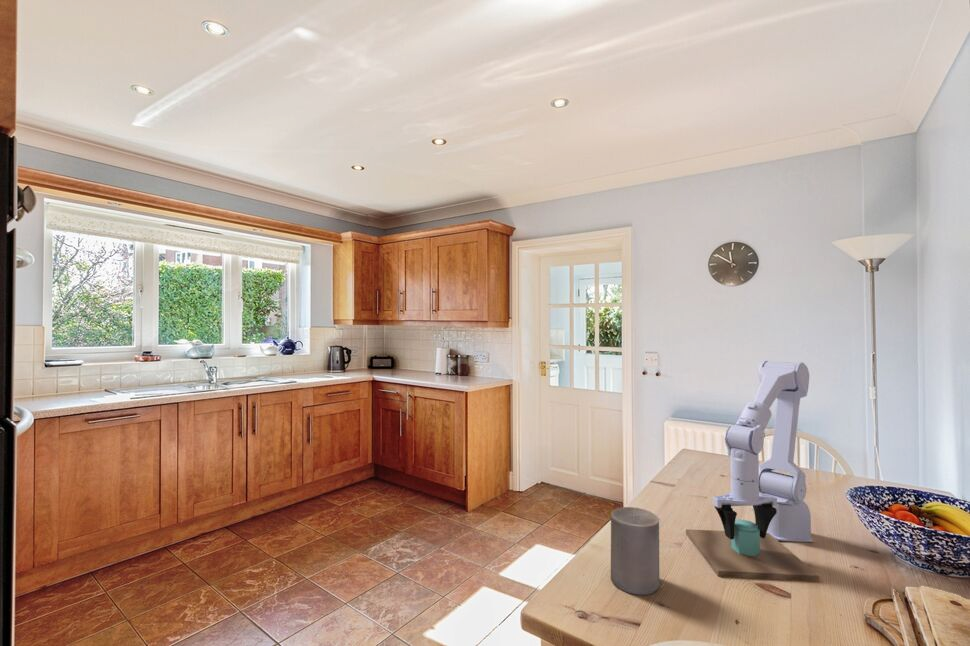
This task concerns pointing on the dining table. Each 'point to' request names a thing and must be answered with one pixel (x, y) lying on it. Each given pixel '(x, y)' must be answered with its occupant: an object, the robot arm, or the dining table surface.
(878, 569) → the dining table surface
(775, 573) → the brown flat square slab
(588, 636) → the dining table surface
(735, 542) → the cap
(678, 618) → the dining table surface
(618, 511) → the pillar candle
